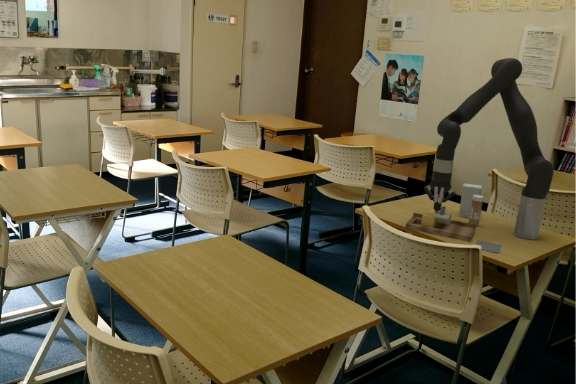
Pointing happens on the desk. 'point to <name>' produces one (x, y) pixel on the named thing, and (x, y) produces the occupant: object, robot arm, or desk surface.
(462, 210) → the skincare box
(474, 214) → the sprinkles bottle
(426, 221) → the block
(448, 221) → the lock slider
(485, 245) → the mat
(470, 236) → the puzzle board
